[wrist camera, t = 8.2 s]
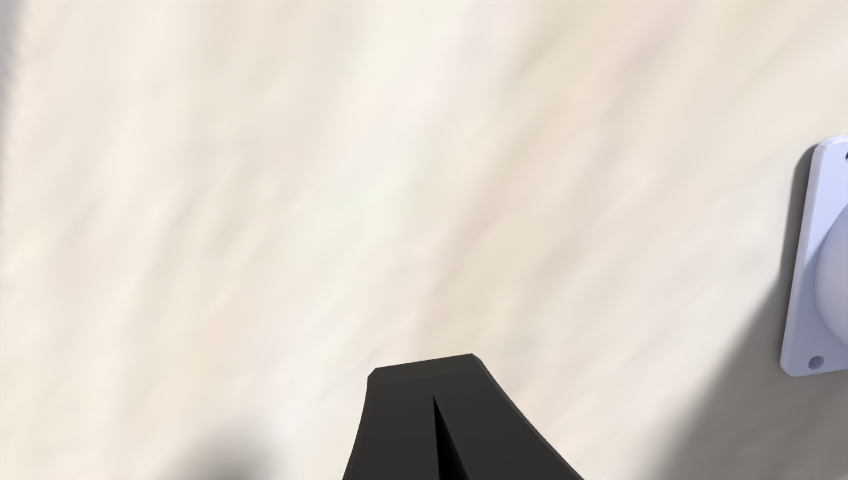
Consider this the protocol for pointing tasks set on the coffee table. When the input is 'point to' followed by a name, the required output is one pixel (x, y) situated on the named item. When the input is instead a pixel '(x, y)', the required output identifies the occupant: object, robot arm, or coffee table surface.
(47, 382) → the coffee table surface
